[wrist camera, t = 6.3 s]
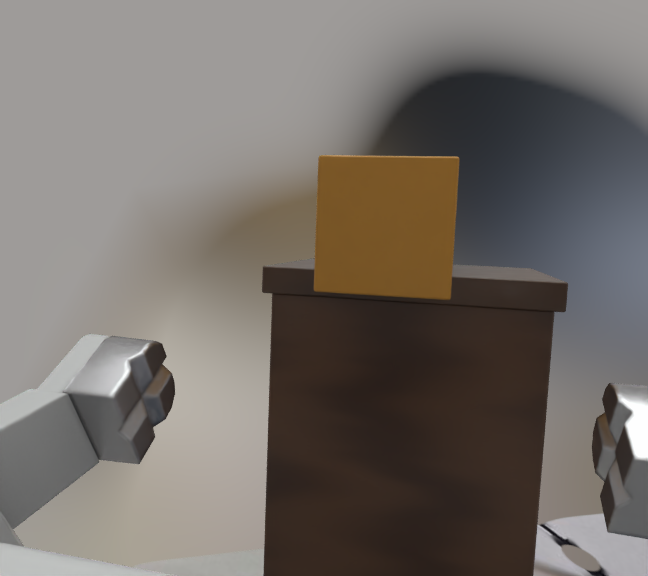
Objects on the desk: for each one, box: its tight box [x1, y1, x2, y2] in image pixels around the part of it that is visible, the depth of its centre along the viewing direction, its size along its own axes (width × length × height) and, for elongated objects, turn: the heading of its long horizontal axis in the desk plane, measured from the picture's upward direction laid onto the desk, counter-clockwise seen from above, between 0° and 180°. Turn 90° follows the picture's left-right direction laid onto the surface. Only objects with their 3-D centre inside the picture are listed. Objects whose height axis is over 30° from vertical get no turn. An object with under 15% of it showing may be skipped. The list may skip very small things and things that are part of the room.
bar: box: [314, 155, 459, 300], centre depth 23 cm, size 3×22×3 cm, turn 168°
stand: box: [262, 258, 568, 576], centre depth 25 cm, size 11×9×26 cm
